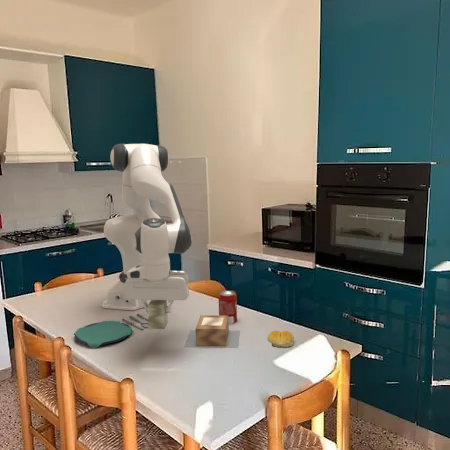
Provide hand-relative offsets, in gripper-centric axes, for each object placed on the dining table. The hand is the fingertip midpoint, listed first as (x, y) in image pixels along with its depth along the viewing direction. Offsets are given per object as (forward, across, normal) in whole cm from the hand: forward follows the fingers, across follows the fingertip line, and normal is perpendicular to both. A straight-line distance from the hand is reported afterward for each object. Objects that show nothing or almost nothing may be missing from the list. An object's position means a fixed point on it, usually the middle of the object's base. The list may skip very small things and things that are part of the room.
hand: (157, 312), depth 139 cm
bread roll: (+14, -40, -10) cm, 43 cm away
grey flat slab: (+14, -16, -10) cm, 24 cm away
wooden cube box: (+13, -16, -10) cm, 23 cm away
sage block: (+5, 0, 0) cm, 5 cm away
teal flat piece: (+15, +20, -17) cm, 30 cm away
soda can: (+14, -20, -26) cm, 36 cm away
